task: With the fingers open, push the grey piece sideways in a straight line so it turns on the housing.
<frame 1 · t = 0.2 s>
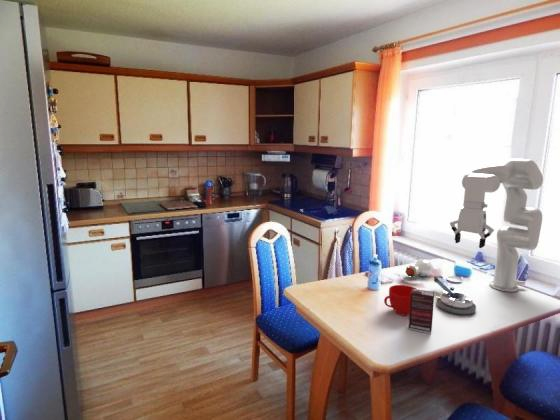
hand: (469, 244, 157), 31 cm above the table, tool pointing down, fingers open, 9 cm apart
potion bottle: (419, 276, 205), on the table
ceramic cup: (399, 313, 162), on the table
grey piece: (449, 290, 174), point 5 cm above the table, hinge at 0.0°
supplement box: (419, 329, 148), on the table
housing: (455, 307, 167), on the table
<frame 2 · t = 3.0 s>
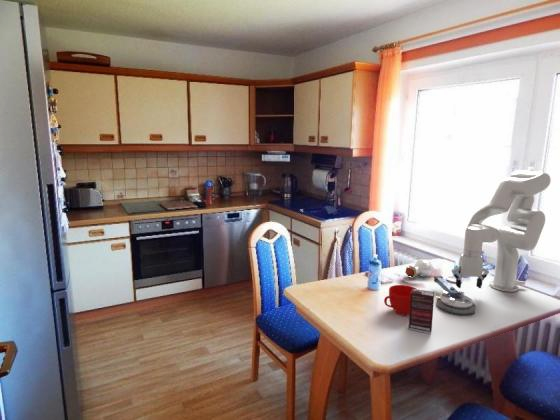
hand: (468, 287, 178), 5 cm above the table, tool pointing down, fingers open, 9 cm apart
nothing on the table moved.
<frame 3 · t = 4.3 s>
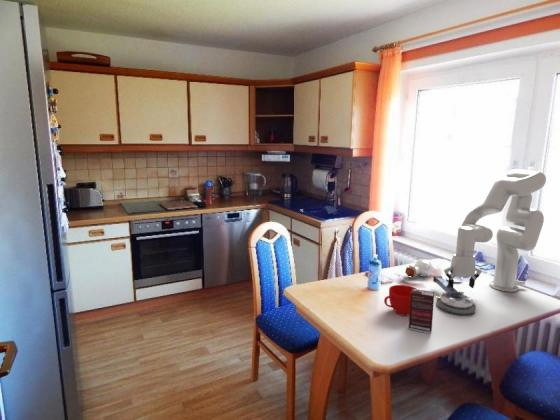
hand: (461, 286, 178), 5 cm above the table, tool pointing down, fingers open, 9 cm apart
grey piece: (449, 290, 174), point 5 cm above the table, hinge at 1.1°, touching gripper
everything else where it was.
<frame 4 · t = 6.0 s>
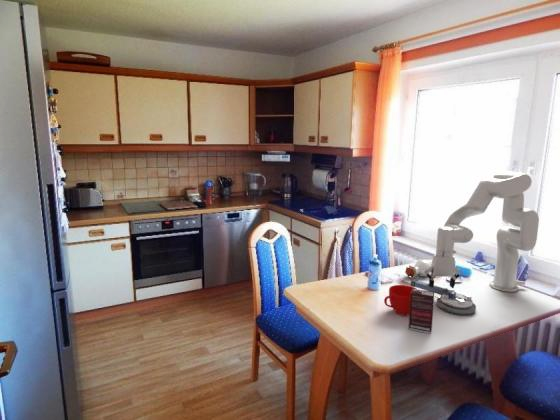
hand: (441, 287, 178), 5 cm above the table, tool pointing down, fingers open, 9 cm apart
grey piece: (440, 292, 172), point 5 cm above the table, hinge at 42.5°, touching gripper
everything else where it was.
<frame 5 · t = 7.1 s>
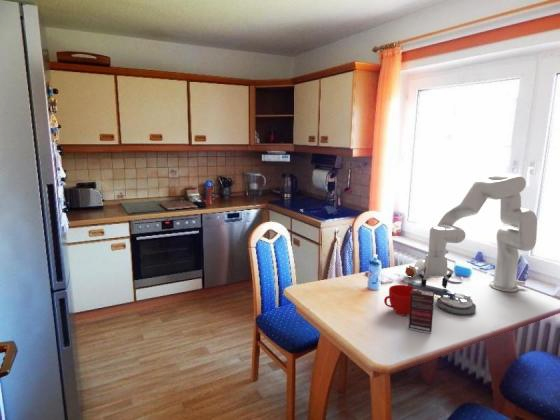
hand: (433, 286, 178), 5 cm above the table, tool pointing down, fingers open, 9 cm apart
grey piece: (439, 293, 171), point 5 cm above the table, hinge at 52.2°, touching gripper
everything else where it was.
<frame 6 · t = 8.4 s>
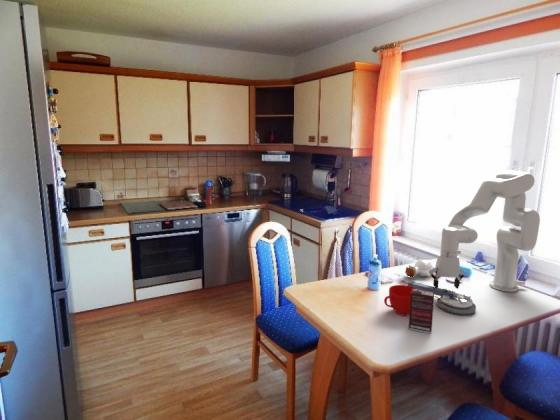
hand: (446, 287, 178), 4 cm above the table, tool pointing down, fingers open, 9 cm apart
grey piece: (439, 293, 171), point 5 cm above the table, hinge at 52.3°
everything else where it was.
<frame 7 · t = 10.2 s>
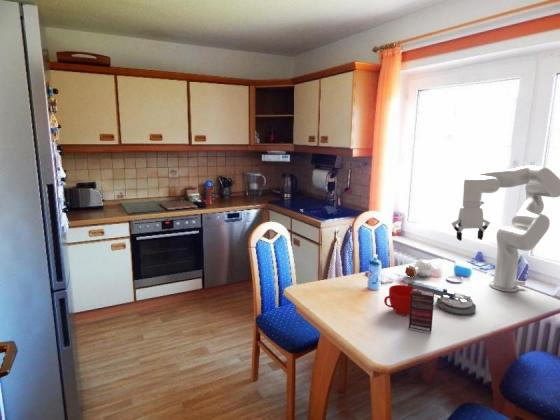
hand: (469, 239, 177), 28 cm above the table, tool pointing down, fingers open, 9 cm apart
nothing on the table moved.
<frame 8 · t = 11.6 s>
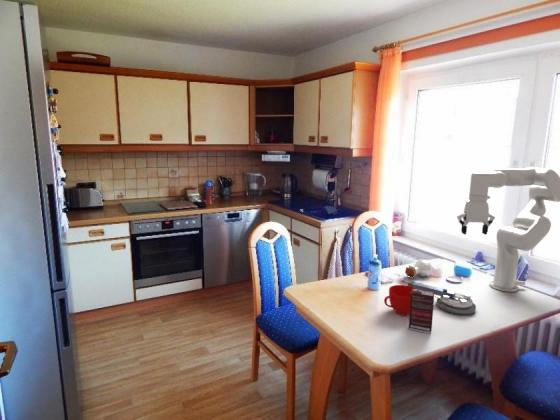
hand: (474, 233, 177), 30 cm above the table, tool pointing down, fingers open, 9 cm apart
nothing on the table moved.
at the end: grey piece at +52° (first picture: +0°); the gripper is holding nothing; potion bottle moved 0.5 cm from its start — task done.
